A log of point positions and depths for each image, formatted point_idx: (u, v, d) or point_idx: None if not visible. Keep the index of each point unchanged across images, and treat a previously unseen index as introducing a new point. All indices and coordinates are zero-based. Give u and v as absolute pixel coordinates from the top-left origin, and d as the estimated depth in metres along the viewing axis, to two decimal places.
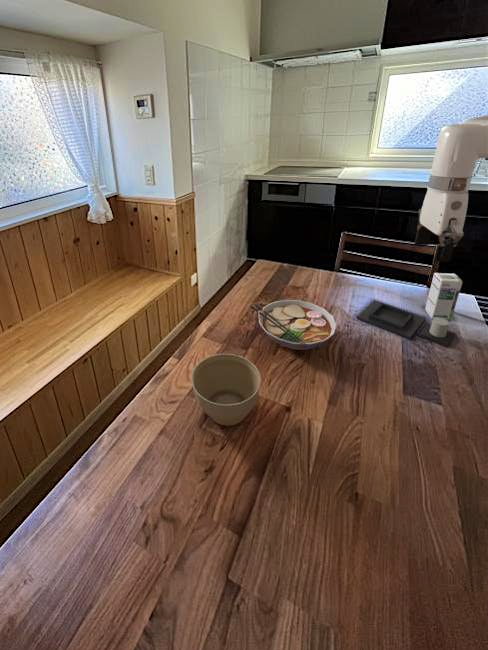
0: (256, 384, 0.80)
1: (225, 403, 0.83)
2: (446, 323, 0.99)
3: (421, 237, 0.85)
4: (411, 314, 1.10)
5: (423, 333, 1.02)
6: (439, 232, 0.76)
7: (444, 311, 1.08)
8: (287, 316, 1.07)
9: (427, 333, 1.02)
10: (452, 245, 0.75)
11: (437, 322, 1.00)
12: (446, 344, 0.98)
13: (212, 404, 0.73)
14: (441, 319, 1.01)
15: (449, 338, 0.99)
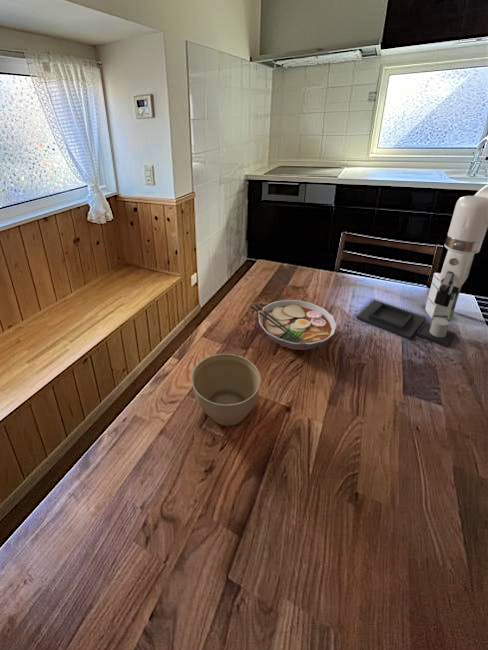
0: (256, 384, 0.80)
1: (225, 403, 0.83)
2: (446, 323, 0.99)
3: None
4: (411, 314, 1.10)
5: (423, 333, 1.02)
6: (440, 280, 0.92)
7: (444, 311, 1.08)
8: (287, 316, 1.07)
9: (427, 333, 1.02)
10: (445, 293, 0.90)
11: (437, 322, 1.00)
12: (446, 344, 0.98)
13: (212, 404, 0.73)
14: (441, 319, 1.01)
15: (449, 338, 0.99)
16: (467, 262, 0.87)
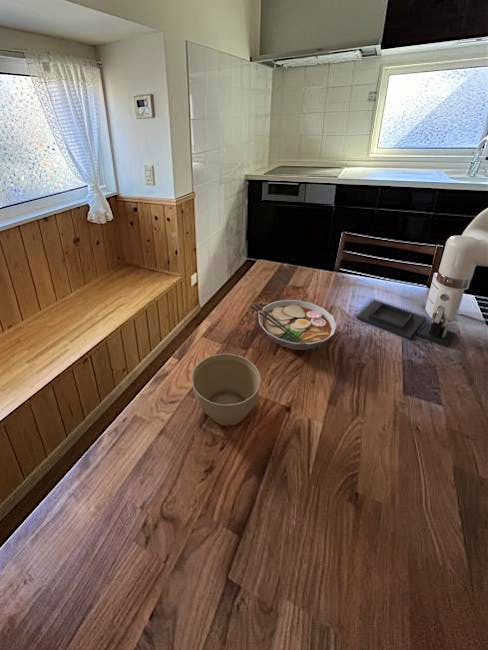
0: (256, 384, 0.80)
1: (225, 403, 0.83)
2: (446, 323, 0.99)
3: None
4: (411, 314, 1.10)
5: (423, 333, 1.02)
6: (432, 313, 0.97)
7: None
8: (287, 316, 1.07)
9: (427, 333, 1.02)
10: None
11: None
12: (446, 344, 0.98)
13: (212, 404, 0.73)
14: (441, 319, 1.01)
15: (449, 338, 0.99)
16: (457, 298, 0.92)
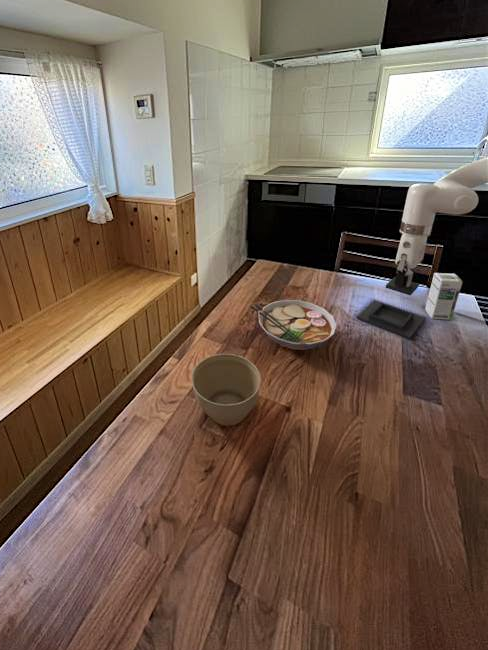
0: (256, 384, 0.80)
1: (225, 403, 0.83)
2: (410, 273, 1.02)
3: None
4: (411, 314, 1.10)
5: (389, 284, 1.05)
6: (396, 262, 1.00)
7: (444, 311, 1.08)
8: (287, 316, 1.07)
9: (393, 284, 1.05)
10: None
11: None
12: (410, 292, 1.01)
13: (212, 404, 0.73)
14: None
15: (413, 287, 1.02)
16: (418, 245, 0.95)
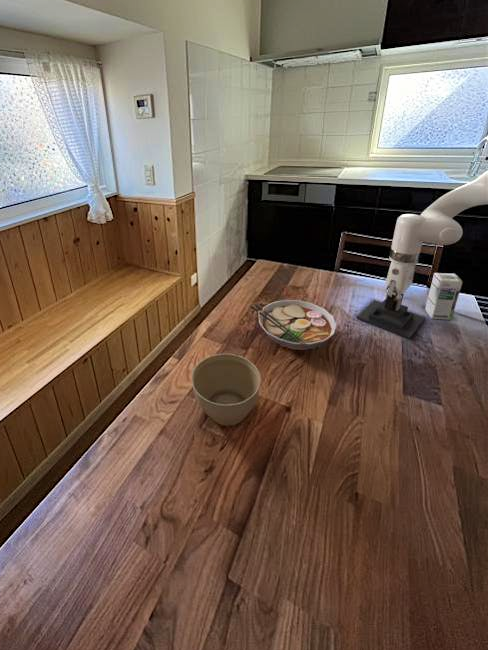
0: (256, 384, 0.80)
1: (225, 403, 0.83)
2: (399, 297, 1.06)
3: None
4: (411, 314, 1.10)
5: (379, 307, 1.10)
6: (386, 287, 1.05)
7: (444, 311, 1.08)
8: (287, 316, 1.07)
9: (383, 307, 1.10)
10: None
11: None
12: (399, 316, 1.05)
13: (212, 404, 0.73)
14: None
15: (402, 311, 1.07)
16: (406, 272, 0.99)
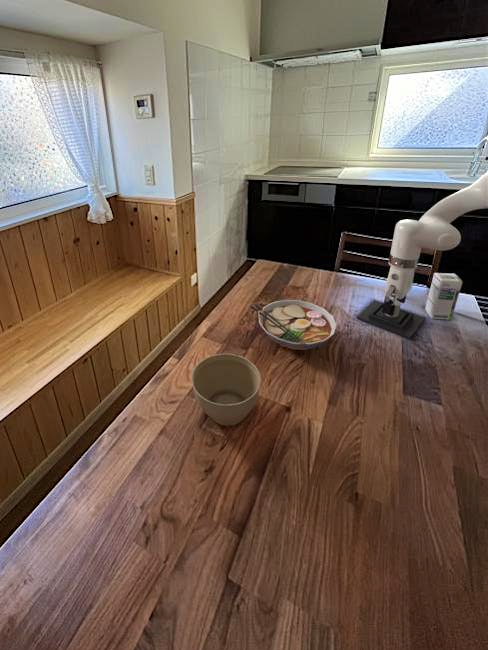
0: (256, 384, 0.80)
1: (225, 403, 0.83)
2: (398, 304, 1.08)
3: None
4: (411, 314, 1.10)
5: (378, 314, 1.11)
6: (385, 292, 1.05)
7: (444, 311, 1.08)
8: (287, 316, 1.07)
9: (382, 314, 1.11)
10: (389, 304, 1.04)
11: None
12: (397, 323, 1.06)
13: (212, 404, 0.73)
14: None
15: (401, 318, 1.08)
16: (406, 277, 1.00)
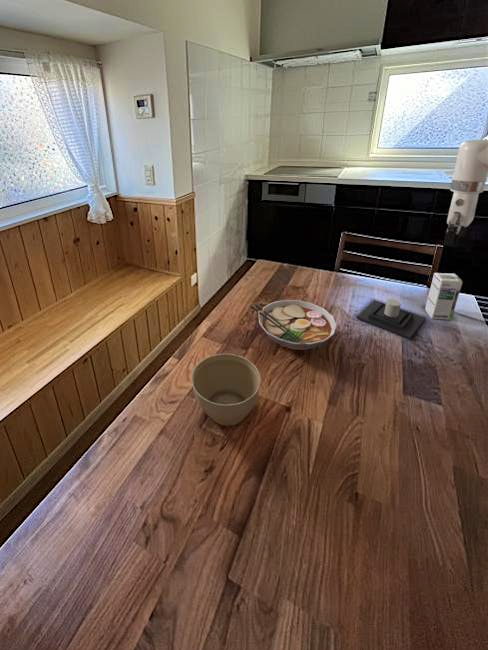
0: (256, 384, 0.80)
1: (225, 403, 0.83)
2: (398, 304, 1.08)
3: None
4: (411, 314, 1.10)
5: (378, 314, 1.11)
6: (447, 222, 0.99)
7: (444, 311, 1.08)
8: (287, 316, 1.07)
9: (382, 314, 1.11)
10: (453, 233, 0.97)
11: (390, 303, 1.08)
12: (397, 323, 1.06)
13: (212, 404, 0.73)
14: (394, 300, 1.09)
15: (401, 318, 1.08)
16: (472, 201, 0.94)
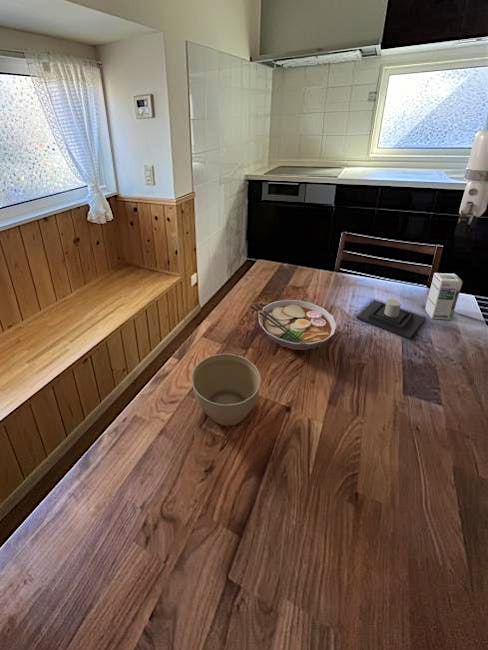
0: (256, 384, 0.80)
1: (225, 403, 0.83)
2: (398, 304, 1.08)
3: None
4: (411, 314, 1.10)
5: (378, 314, 1.11)
6: (460, 212, 0.99)
7: (444, 311, 1.08)
8: (287, 316, 1.07)
9: (382, 314, 1.11)
10: (465, 222, 0.97)
11: (390, 303, 1.08)
12: (397, 323, 1.06)
13: (212, 404, 0.73)
14: (394, 300, 1.09)
15: (401, 318, 1.08)
16: (486, 191, 0.94)
